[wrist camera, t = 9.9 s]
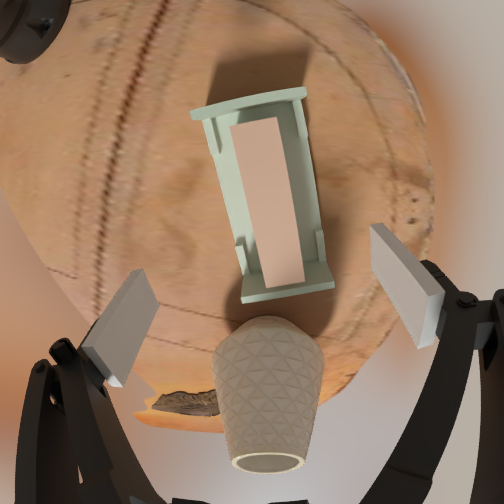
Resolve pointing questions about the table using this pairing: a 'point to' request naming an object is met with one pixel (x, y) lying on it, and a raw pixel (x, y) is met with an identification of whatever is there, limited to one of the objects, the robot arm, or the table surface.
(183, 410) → the wooden fragment
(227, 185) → the tray
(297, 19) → the table surface
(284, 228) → the pinkish tan rectangular block
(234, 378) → the vase
